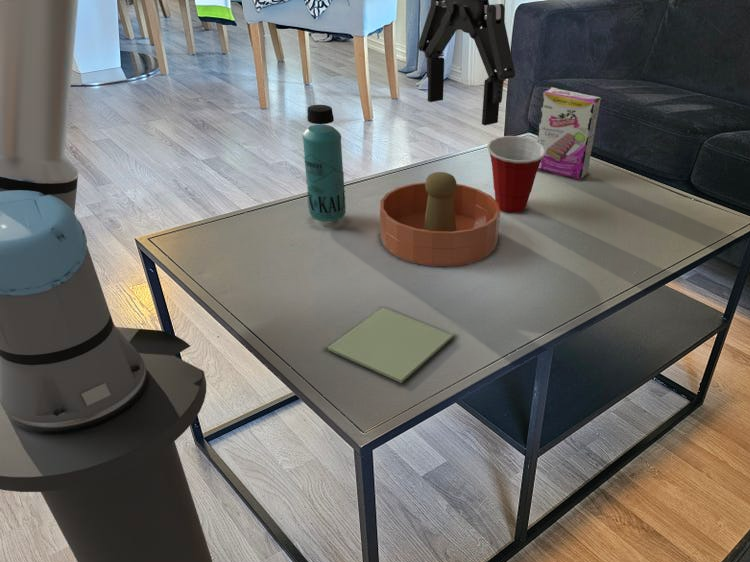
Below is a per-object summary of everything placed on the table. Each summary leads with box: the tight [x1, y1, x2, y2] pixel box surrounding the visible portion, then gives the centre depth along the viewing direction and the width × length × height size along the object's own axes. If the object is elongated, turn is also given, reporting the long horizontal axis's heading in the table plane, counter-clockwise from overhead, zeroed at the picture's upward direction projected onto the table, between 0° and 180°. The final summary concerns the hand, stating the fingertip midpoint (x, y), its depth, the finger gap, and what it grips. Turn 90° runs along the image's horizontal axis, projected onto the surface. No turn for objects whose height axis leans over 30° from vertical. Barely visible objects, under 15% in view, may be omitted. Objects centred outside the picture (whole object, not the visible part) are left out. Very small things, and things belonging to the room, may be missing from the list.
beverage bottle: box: [301, 104, 347, 222], centre depth 109 cm, size 6×7×20 cm
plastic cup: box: [486, 135, 546, 214], centre depth 121 cm, size 11×11×12 cm
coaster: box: [327, 307, 454, 384], centre depth 88 cm, size 12×12×1 cm
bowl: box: [379, 181, 501, 267], centre depth 111 cm, size 20×20×6 cm
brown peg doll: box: [423, 171, 458, 232], centre depth 110 cm, size 6×6×11 cm
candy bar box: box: [536, 86, 602, 181], centre depth 136 cm, size 11×5×16 cm, turn 65°
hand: (461, 111), depth 105 cm, fingers open, 13 cm apart
